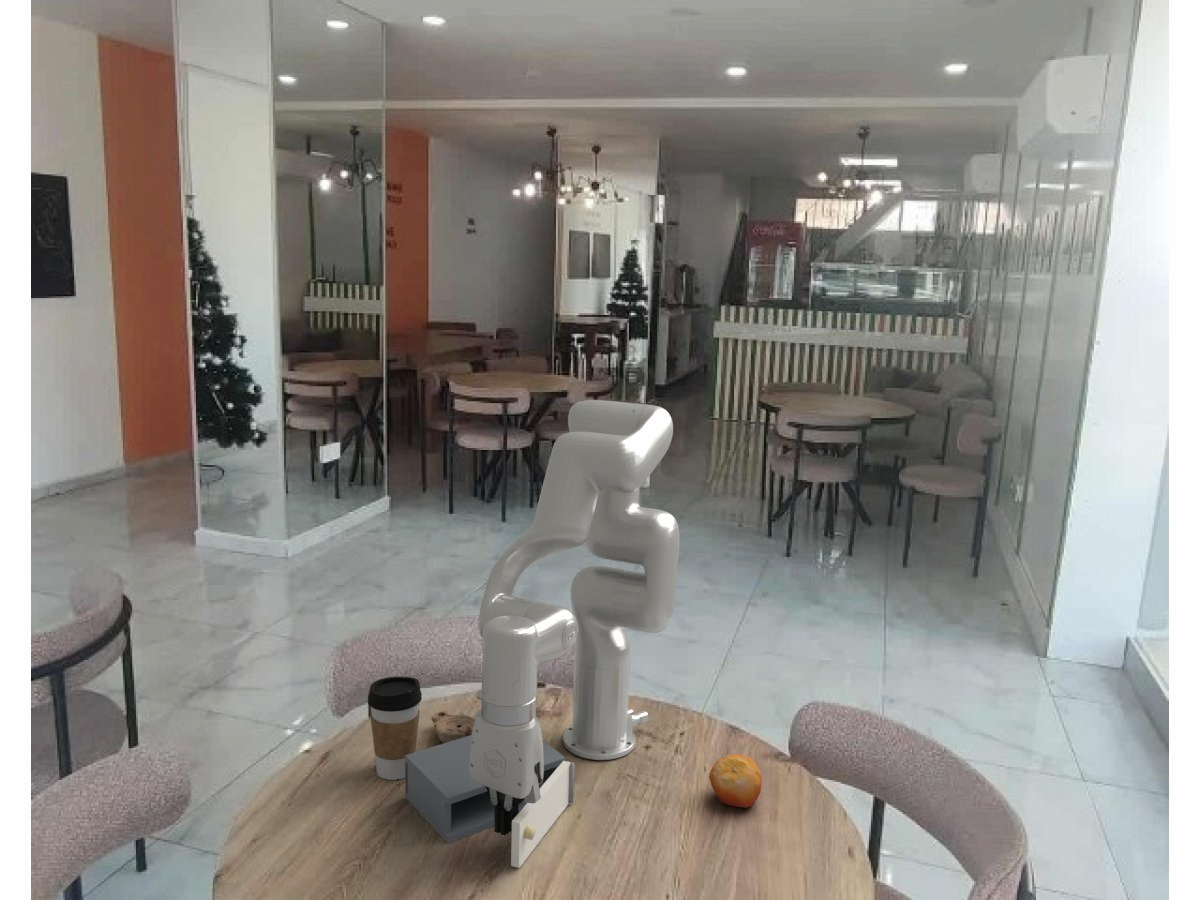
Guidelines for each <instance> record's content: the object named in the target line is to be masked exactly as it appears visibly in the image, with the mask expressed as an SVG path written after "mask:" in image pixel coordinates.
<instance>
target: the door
mask: <svg viewBox="0 0 1200 900" xmlns="http://www.w3.org/2000/svg"><path fill="white" fill-rule="evenodd" d="M575 765H576V764H575V762H574V761H571V762H570V761H567V760H565V761H563V762H562V763H561V764H560V765H559V766H558V768H557V769H556V770H555V771H554V772H553V774H552V775H551V776H550V777H549V778H548V779H547V781H546V782H545V783H544V784H543V785H542V786H541V788H540V789H539V790H540V796H541V798H540V799H539V800H538V801H537V802H536V803H534V804H533V803H527V804H526V805H525V806H524V808H523V809H522V810H521V811H520V812H519V813H518V815H517V816H516V817H515V818H514V819H513V820H512V831H511V846H510V847H511V848H510V850H511V852H510V853H511V856H510V861H511V862H510V866H511V867H514V868H516V869H517V868H518V869H520V868H521V866H522V864H523V863H524V862H525V861H526V859H528V857H529V856H530V854H531V853H532V852H533V851H534V849H536V846H538V844H539V843H540V842H541V840H542V839H543V838H544V836H545V835H546V834H547V833H548V831H549V830H550V829H551V827H552V826H553V825H554V823H555V822H556V821H557V820H558V818H559V817H560V816H561V814H562V813H563V812H564V810H565V809H566V807H567V806H568V805H569V804H573V803H574V795H575V793H574V791H575V790H574V788H575Z"/></svg>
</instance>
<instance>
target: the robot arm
mask: <svg viewBox="0 0 1200 900" xmlns="http://www.w3.org/2000/svg"><path fill="white" fill-rule="evenodd" d="M567 424H568V429H569V432H565V433H563V434H561V435H560V436H559V437H558V438H557V439H556V440H555V442H554V443H553V446H552V449H551V452H550V456H549V459H548V464H547V467H546V471H545V476H544V478H543V484H542V487H541V491H540V495H539V499H538V502H537V506H536V510H535V514H534V517H533V522H532V524H531V526H530V528H528V530H526V531H525V532H524V533H523V534H522V535H520V536H519V537H517V538H516V539H515V540H514V541H513V542H512V543H511V544H510V545H509V546H508V547H507V548H506V549H505V550H504V551H503V553H502V554H501V555H500V556H499V558H498V559H497V561H496V562H495V563H494V565H493V566H492V568H491V571H490V573H489V575H488V578H487V581H486V584H485V589H484V592H483V597H482V599H481V604H480V608H479V615H478V633H479V635H480V637H481V639H482V640H481V641H482V642H481V644H482V647H481V648H482V651H481V652H482V655H481V688H480V689H478V690H477V692H476V699H478V700H480V702H481V703H480V704H481V706H480V709H478V711H477V712H476V714H475V717H474V718H475V721H474V725H473V730H472V735H471V743H470V753H469V775H470V777H471V778H472V779H473V780H474V781H476V782H477V783H479V784H482V785H483V786H485V787H486V789H487V791H488V792H489V794H490V799H491V803H492V804H493V805H495V811H494V821H495V826H494V833H497V834H500V835H501V836H504V837H506V835H508V834H509V833H511V832H512V820H513V819H514V818H515V817H516V816H517V815H518V807H519V804H520V803H521V802H525V803H533V804H534V803H536V802H537V801H538V800H539V799H540V798H541V796H540V790H539V786H540V785H542V782H543V774H544V755H543V741H544V740H543V736H542V735H543V734H542V727H541V722H540V719H539V718H538V717H537V701H538V700H537V696H538V695H537V693H538V691H537V690H538V667H539V666H540V665H542V664H545V663H548V662H551V661H553V660H557V659H558V658H561V657H563V656H564V655H566V654H567V653H568V652H569V651H571V649H572V648H573V646H574V658H573V659H574V660H573V661H574V662H573V663H574V664H573V689H572V690H573V692H572V693H573V694H572V695H573V698H572V723H571V725H569V726H568V727H567V728H566V729H565V730H564V731H563V733H562V735H563V736H562V743H563V746H564V748H565V749H567V750H568V751H569V752H570V753H572V754H573V755H575V756H578V757H580V758H583V759H587V760H594V761H609V760H614V759H615V760H617V759H619V758H622V757H624V756H626V755H628V754H630V753H631V752H632V751H633V749H634V748H635V746H636V735H635V733H634V731H633V729H634V728H635V727H636V725H640V724H643V723H646V722H649V714H648V712H647V711H646V710H642V711H639V712H636V713H635V712H634V710H633V709H632V708H629V689H630V667H631V665H630V663H631V647H630V641H629V638H628V637H627V634H626V632H625V630H624V629H627V630H631V631H637V632H642V633H648V634H659V633H661V632H664V631H665V630H666V629H667V628H668V627H669V625H670V623H671V621H672V618H673V613H674V608H675V606H674V605H675V600H676V599H675V598H676V587H677V579H678V577H677V576H678V565H679V564H678V563H679V555H680V528H679V524H678V521H677V519H676V518H675V517H674V516H673V515H672V513H670V512H667V511H665V510H662V509H658V508H657V509H656V508H649V507H642V506H641V505H640V501H639V497H640V488H641V487H642V486H643V485H644V484H645V483H646V481H647V480H648V478H649V477H650V476H651V474H652V473H653V471H654V470H655V469H656V467H657V466H658V465H659V464H660V462H661V461H662V460H663V458H664V457H665V455H666V454H667V451H668V450H669V448H670V445H671V443H672V439H673V435H674V423H673V418H672V417H671V414H670V413H669V411H667V409H665V408H663V407H661V406H657V405H653V404H645V403H644V404H643V403H633V402H623V401H617V400H616V401H613V400H604V399H603V400H602V399H601V400H600V399H587V400H581V401H577V402H576V403H574V404H573V405H572V406H571V407H570V408H569V412H568V417H567ZM584 544H585V548H586V550H587V551H588V553H589V554H590V555H592V556H594V557H596V558H600V559H602V560H608V561H613V562H619V563H624V564H630V565H635V566H636V565H637V566H641V567H643V570H644V572H639V571H633V570H628V569H624V568H618V567H611V566H604V565H593V566H592V565H591V566H586V567H585V568H582V569H580V570H579V571H578V572H577V573H576V574H575V576H574V578H573V579H572V582H571V585H570V605H571V610H572V611H571V610H570V609H568V608H567V607H564V606H561V605H558V604H553V603H548V602H547V603H546V602H543V601H538V600H533V599H528V598H522V597H517V596H514V592H515V589H516V586H517V585H518V581H519V579H520V578H521V577H522V575H523V574H524V573H525V571H526V570H527V569H529V567H530V566H532V565H533V564H534V563H536V562H538V561H540V560H541V559H544V558H546V557H548V556H551V555H554V554H557V553H561V552H563V551H567V550H570V549H574V548H577V547H581V546H582V545H584ZM634 713H635V714H634ZM542 740H543V741H542Z"/></svg>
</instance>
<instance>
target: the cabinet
mask: <svg viewBox="0 0 1200 900" xmlns="http://www.w3.org/2000/svg"><path fill="white" fill-rule="evenodd" d="M542 741H543V755H544V774H543V782H542V785H543V784H544V783H545V782H546V781H547V779H548V778H549V777H550V776H551V775H552V774H553V772H554V771H555V770H556V769H557V768H558V766H559V765H560V764H561V763H562V762H563V761H566V757H565V756H564V755H563V754H561V752H559V751H558V750H556V749H554V747H552V746H551V745H549V743H547V742H545V741H544V740H543V739H542ZM470 743H471V735H470V736H467V737H463V738H460V739H457V740H454V741H450V742H447V743H441V744H437V745H434V746H431V747H428V748H425V749H422V750H419V751H418V750H417V751H415V753H411V754H408V755H405V778H404V780H405V781H404V783H405V784H404V790H405V791H404V793H405V794H404V795H405V799H406V800H407V801H408V803H410V804H411V805H412V806H413V808H414V809H417V810H418V811H419V812H418V811H417V810H416V811H417V812H418V813H419V814H420V813H421V814H420V815H421V816H422V817H423V818H424V820H425V821H426V822H427V823H428V822H429V823H428V824H429V825H430V826H431V827H432V828H433V829H434V830H435V832H437V833H438V835H439V836H440V837H441V838H442V839H443V840H444V841H445V842H446V843H447V844H451V843H454V842H456V841H459V840H461V839H464V838H467V837H469V836H473V835H475V834H477V833H480V832H482V831H485V830H487V829H490V828H493V827H495V821H494V811H495V805H493V804H492V803H491V799H490V794H489V792H488V791H487V789H486V787H485V786H483V785H482V784H479V783H477V782H476V781H474V780H473V779H472V778H471V777H470V775H469V753H470ZM542 785H540V786H539V789H540V788H541V786H542ZM526 804H527V803H525V802H521V803H520V804H519V807H518V813H519V812H520V811H521V810H522V809H523V808H524V806H525V805H526Z"/></svg>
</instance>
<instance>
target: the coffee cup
mask: <svg viewBox="0 0 1200 900" xmlns="http://www.w3.org/2000/svg"><path fill="white" fill-rule="evenodd" d="M422 693H423V692H422V691H421V685H420V680H419V679H418V678H415V677H411V676H388V677H384V678H380V679H377V680H376V681H374V682H372V683H371V684H370V686H369V692H368V695H367V704H368V706H369V707H370V714H369V715H370V724H371V733H372V743H373V749H374V757H375V767H376V769H375V770H376V774H377V776H378V777H379V778H380V779H383V780H386V779H387V780H388V781H398V780H397V779H399V780H402V779H405V755H408V754H411V753H415V752H416V750H417V741H418V740H417V739H418V732H419V731H418V730H419V721H420V712H421V711H420V708H419V705H420V703H421V701H422V699H423V698H422V695H423V694H422Z"/></svg>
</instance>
